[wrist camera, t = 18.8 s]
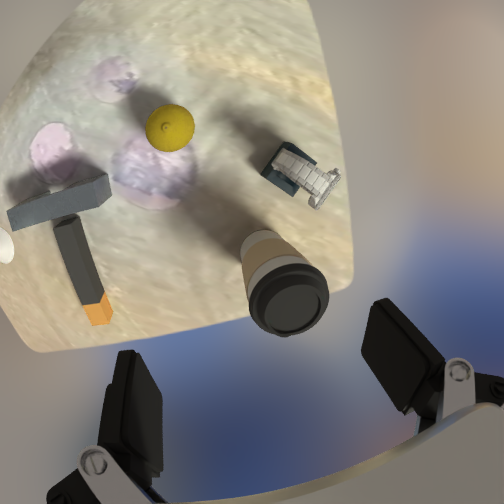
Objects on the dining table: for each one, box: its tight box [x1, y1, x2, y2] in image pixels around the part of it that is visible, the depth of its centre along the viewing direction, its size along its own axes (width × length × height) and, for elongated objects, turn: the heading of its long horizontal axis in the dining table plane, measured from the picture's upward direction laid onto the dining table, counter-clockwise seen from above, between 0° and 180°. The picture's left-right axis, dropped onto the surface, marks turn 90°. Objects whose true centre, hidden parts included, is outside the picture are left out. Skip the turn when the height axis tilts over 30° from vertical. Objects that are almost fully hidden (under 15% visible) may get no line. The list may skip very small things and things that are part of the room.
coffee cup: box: [240, 230, 329, 337], centre depth 34 cm, size 9×9×15 cm
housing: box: [7, 174, 112, 231], centre depth 28 cm, size 3×15×6 cm, turn 95°
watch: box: [261, 142, 341, 211], centre depth 31 cm, size 6×8×11 cm
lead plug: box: [53, 216, 113, 326], centre depth 34 cm, size 16×3×3 cm, turn 5°
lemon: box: [145, 104, 195, 152], centre depth 27 cm, size 6×6×8 cm
